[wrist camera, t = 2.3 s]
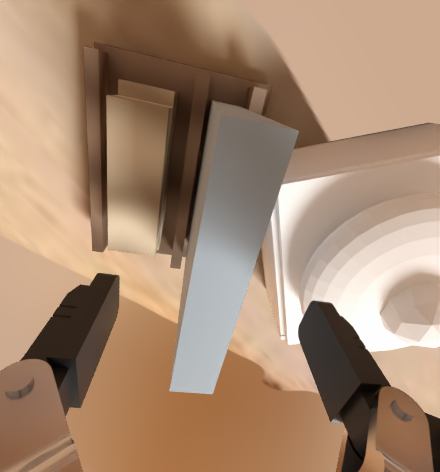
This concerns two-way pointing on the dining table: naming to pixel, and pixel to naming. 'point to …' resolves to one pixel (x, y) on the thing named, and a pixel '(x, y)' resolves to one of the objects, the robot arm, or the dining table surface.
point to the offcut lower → (157, 97)
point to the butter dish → (360, 237)
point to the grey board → (226, 236)
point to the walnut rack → (184, 137)
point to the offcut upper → (136, 172)
